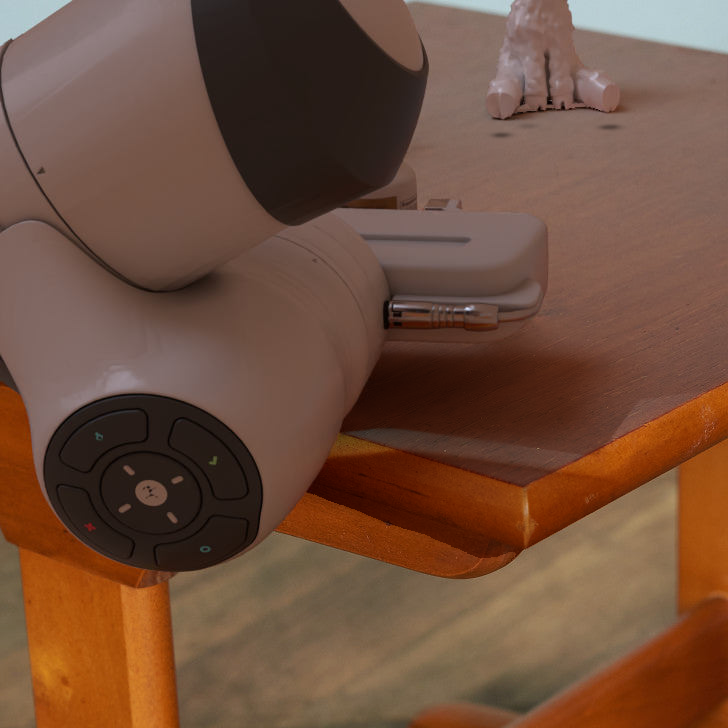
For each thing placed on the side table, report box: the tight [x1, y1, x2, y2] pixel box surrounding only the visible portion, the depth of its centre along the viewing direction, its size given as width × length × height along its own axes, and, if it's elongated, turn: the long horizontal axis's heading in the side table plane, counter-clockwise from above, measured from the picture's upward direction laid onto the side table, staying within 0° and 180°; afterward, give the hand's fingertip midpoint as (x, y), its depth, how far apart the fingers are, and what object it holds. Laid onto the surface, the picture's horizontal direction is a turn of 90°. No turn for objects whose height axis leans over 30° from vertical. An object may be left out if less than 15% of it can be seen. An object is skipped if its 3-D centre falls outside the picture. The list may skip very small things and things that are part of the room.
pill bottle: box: [339, 160, 419, 210], centre depth 84 cm, size 4×4×8 cm
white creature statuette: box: [485, 0, 621, 120], centre depth 115 cm, size 10×9×12 cm
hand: (348, 212), depth 79 cm, fingers open, 8 cm apart
